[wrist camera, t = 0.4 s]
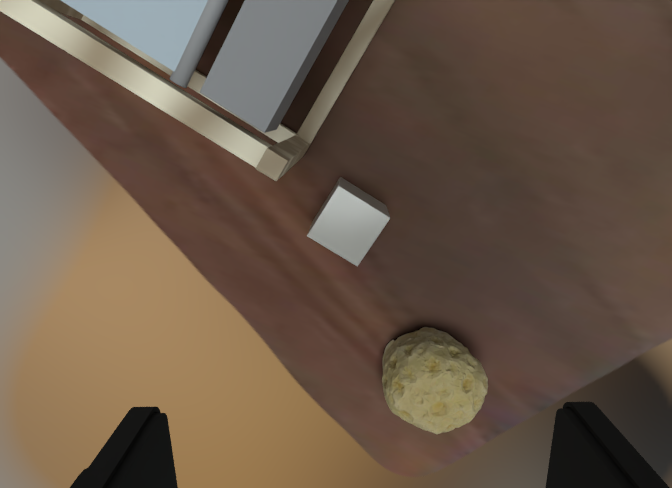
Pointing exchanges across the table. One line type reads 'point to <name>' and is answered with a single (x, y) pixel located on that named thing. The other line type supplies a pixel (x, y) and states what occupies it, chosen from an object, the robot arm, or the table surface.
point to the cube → (349, 221)
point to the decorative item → (432, 380)
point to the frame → (195, 82)
